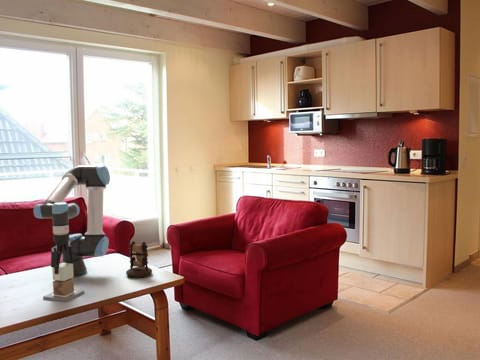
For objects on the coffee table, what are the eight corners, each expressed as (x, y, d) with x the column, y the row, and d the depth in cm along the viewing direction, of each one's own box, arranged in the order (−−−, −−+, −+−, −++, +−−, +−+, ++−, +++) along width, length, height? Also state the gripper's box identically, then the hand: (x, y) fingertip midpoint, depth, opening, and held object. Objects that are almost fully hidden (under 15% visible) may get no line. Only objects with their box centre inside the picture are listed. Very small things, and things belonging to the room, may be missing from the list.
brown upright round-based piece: (156, 272, 279) (155, 239, 277) (145, 279, 265) (144, 245, 263) (133, 270, 283) (132, 238, 281) (121, 278, 268) (120, 243, 266)
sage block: (52, 279, 236) (52, 266, 235) (62, 275, 242) (61, 262, 242) (64, 281, 234) (63, 267, 233) (73, 276, 240) (72, 263, 240)
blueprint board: (43, 299, 234) (43, 296, 234) (62, 290, 248) (62, 287, 248) (66, 301, 230) (66, 299, 230) (84, 292, 243) (84, 290, 243)
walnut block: (53, 294, 237) (52, 281, 236) (63, 290, 243) (62, 277, 243) (65, 296, 234) (64, 282, 234) (74, 291, 241) (73, 278, 240)
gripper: (53, 237, 225) (55, 284, 227) (80, 230, 244) (82, 273, 246) (40, 237, 228) (43, 283, 230) (68, 229, 246) (70, 271, 249)
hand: (63, 277), depth 238 cm, fingers closed on sage block, 7 cm apart
